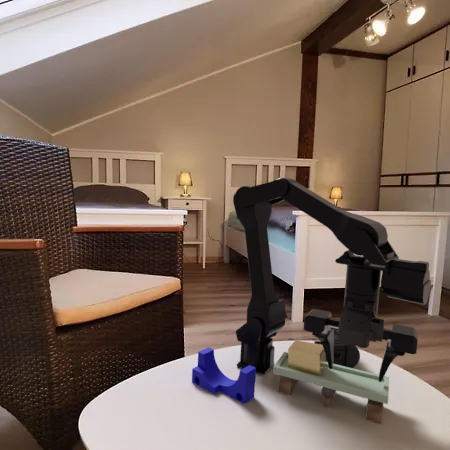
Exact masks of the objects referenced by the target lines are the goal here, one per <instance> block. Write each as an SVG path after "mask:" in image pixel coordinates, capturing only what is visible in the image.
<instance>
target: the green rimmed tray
mask: <svg viewBox="0 0 450 450" xmlns="http://www.w3.org/2000/svg"><path fill="white" fill-rule="evenodd" d="M273 374H275V375H277V376H279V375H281V376H285V377H289V378H292V379H296V380H299V381H301V382H303V383H308V384H312V385H314V386H318V387H322V388H323V387H326V388H329V389H333V390H336V392H341V393H345V394H348V395H352V396H356V397H360V398H362V399H367V400H368V399H370V400H374V401H378V402H381V403H383V404H386V405H388V404H389V390H390V388H389V387H390V376H385V375H384V377H383V379H382V381H381V382H379V373H373V372H369V371H365V370H361V369H358V368H349V367H345V366H341V365H337V364H333V368H332V369H329V365H328V362H326V365H325V367H324V369H323V371H322V373H321V374H320V376H318V375H314V374H309V373H304V372H301V371H297V370H293V369H289V368H288V351H283V353H282V354H281V356H280V357H279V358H278V360H277V362H276V363H275V364H274V366H273Z"/></svg>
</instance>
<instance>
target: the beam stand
mask: <svg viewBox="0 0 450 450" xmlns="http://www.w3.org/2000/svg"><path fill="white" fill-rule="evenodd" d="M299 381H300V380H296V379H292V378H289V377H285V376H281V375H278V388H277V392H278V393H281V394H283V395H286V396H291V395H292V393H293V392H294V390H295V388H296V387H297V385H298V383H299ZM320 392H321V395H322V397H323V398H322V399H323V400H322V407H325V408H328V409H330V407H331V406H332V403H333V400H334V398H335V395H336V393H337V391H336V390H333V389H329V388H326V387H322V388H321V391H320ZM383 409H384V403H381V402H378V401H374V400H370V399H367V402H366V412H365V413H366V415H365V420H366V421H369V422H370V421H371V422H373V423H376V424H380V425H381V424H382V423H381V422H382V419H383V418H382V417H383Z"/></svg>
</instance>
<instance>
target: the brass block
mask: <svg viewBox="0 0 450 450" xmlns="http://www.w3.org/2000/svg"><path fill="white" fill-rule="evenodd" d="M287 353H288V368H289V369H293V370H297V371H301V372H304V373H309V374H314V375H318V376H320V374H321V373H322V371H323V369H324V367H325V365H326V355H325V351H324V348H323V346H322V345H321V344H315V343H314V342H309V341H303V340H294V341H293V343H291V345H290V346H289V348H287Z"/></svg>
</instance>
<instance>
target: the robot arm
mask: <svg viewBox="0 0 450 450" xmlns="http://www.w3.org/2000/svg"><path fill="white" fill-rule="evenodd" d="M232 199H233V200H232V202H233V206H234V212H235V216H236V218H237V219H238V220H239V223H240V224H241V226H242V227H243V230H244V236H245V237H244V238H245V243H246V244H245V245H246V254H247V256H246V257H247V263H248V265H247V266H248V272H249V273H248V275H249V282H250V284H249V285H250V290H251V291H250V292H251V296H250V299H249V303H248V305H247V308H246V322H245V323H244V324H243V325H241V326H240V327H239V328H237V329H236V330H235V335H236V339H237V341H238V342H240V357H239V361H238V362H237V364H236V367H237V368H240V369H244V368H245V367H247V366H249V365H251V366H253V367H255V368H256V374H260V375H265V374H266V373H267V372H268V371H269V369H271V368H272V366H273V365H275V364H274V363H275V348H276V347H275V345H274V346H273V344H274V343H273V342H274V341H273V340H274V339H273V337H276V336H277V334H278V332H280V330H282V329H283V328H284V326H285V324H286V319H288V318H289V317H288V314H287V311H286V300H285V299H279V297H278V296H277V294H276V293H275V288H274V279H273V278H274V277H273V270H272V262H271V260H272V259H271V251H270V244H269V234H268V233H269V232H268V224H269V221H270V218H271V215H272V210H273V209H272V208H273V207H272V206H273V205H276V204H279V203H281V202H283V201H285V202H287V203H289V204H290V205H292V206H293V207H295V208H297V209H298V210H299V211H301V212H303V213H304V214H306V215H307V216H309V217H310V218H312V219H313V220H315V221H317V222H318V223H319V224H321V225H323V226H324V227H326V228H328V229H329V230H330V231H331V232H332V234H333V235H334V236H335V238H336V240H338V241H339V243H341V245H343V246H344V247H345V248H346V249H347V250H345V251H344V252H343V253H342V254H341V255H340V256H339V257H338V258H336V259H335V260H334V261H335V263H336V264H340V265H346V274H345V285H344V287H345V289H344V299H343V300H344V301H343V307H342V309H341V312H340V314H339V318H333V317H332V312H331V311H327V310H322V309H318V308H312V309H311V310H310V311H309V312H308V313H307V315H305V316H304V320H303V330H304V331H305V332H310V333H312V337H315V338H317V339H318V341H321V343H322V346H323V348H324V351H325V355H326V358H327V362H328V365H329V369H332V368H333V361H334V329H335V330H339V332H338V340H339V342H340V343H342V344H351V345H355V346H356V347H357V348H360V349H366V348H369V346H370V343H371V342H372V343H373V342H374V343H377V342H380V343H381V342H383V340H384V341H386V345H385V349H384V353H383V357H382V361H381V365H380V369H379V373H378V375H379V382H381V381H382V379H383V377H384V376H385V375H386V373H387V371H388V369H389V367H390V365H391V364H392V362H393V361H394V359H396V358H397V357H398V356H400V357H405V355H406V354H409V355H417V350H418V330H416V328H415V327H413V326H412V327H411V326H408V325H401V324H396V323H393V324H392V329H389V328H385V319H382V318H378V311H379V301H380V300H379V299H380V288H381V291H382V293H383V294H386V297H387V298H390V299H391V298H392V299H395V300H400V301H405V302H409V303H413V304H414V303H415V304H418V305H424V306H425V305H426V304H427V302H428V300H429V298H430V292H431V284H432V280H431V273H430V270H429V269H430V263H429V262H428V261H423V260H417V261H414V260H407V259H402V258H401V259H400V258H399V256H398V254H397V253H396V251H395V249H394V248H393V246H392V245H391V243H390V241H389V240H388V236H389V235H388V231H387V228H386V227H385V226H384V225H383V224H382V223H381V222H379V221H376V220H374V219H371V218H368V217H366V216H363V215H360V214H356V213H353V212H349V211H347V210H344V209H343V208H341V207H339V206H338V205H336V204H334V203H332V202H330V201H329V200H327V199H326V198H324V197H322V196H321V195H319V194H317V193H315V192H314V191H312V190H310V189H308V188H307V187H305V186H304V185H302V184H301V183H299V182H298V181H297V180H296V179H294V178H289V177H279V178H277V179H275V180H272V181H269V182H265V183H261V184H257V185H252V186H250V185H249V186H248V185H242V186H241V187H239V188H238V189H237V190H236V192H235V193H234V194H233V196H232Z"/></svg>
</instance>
